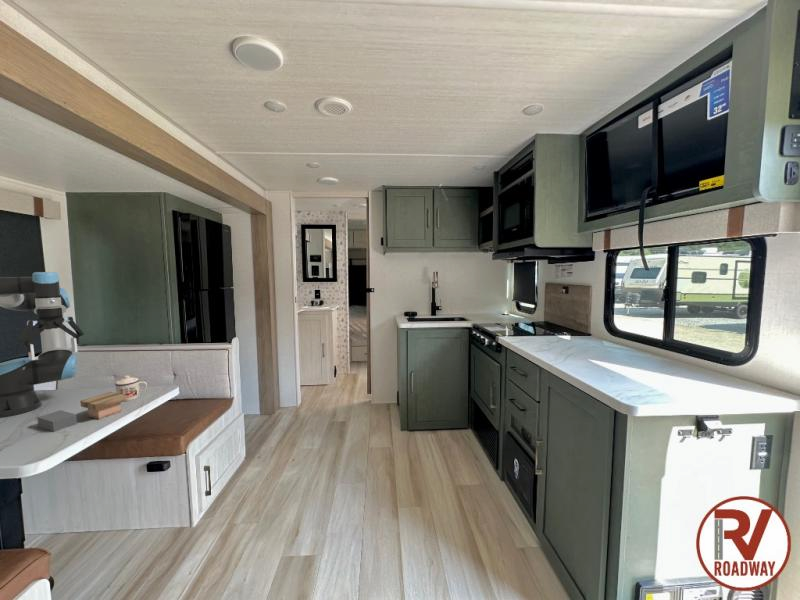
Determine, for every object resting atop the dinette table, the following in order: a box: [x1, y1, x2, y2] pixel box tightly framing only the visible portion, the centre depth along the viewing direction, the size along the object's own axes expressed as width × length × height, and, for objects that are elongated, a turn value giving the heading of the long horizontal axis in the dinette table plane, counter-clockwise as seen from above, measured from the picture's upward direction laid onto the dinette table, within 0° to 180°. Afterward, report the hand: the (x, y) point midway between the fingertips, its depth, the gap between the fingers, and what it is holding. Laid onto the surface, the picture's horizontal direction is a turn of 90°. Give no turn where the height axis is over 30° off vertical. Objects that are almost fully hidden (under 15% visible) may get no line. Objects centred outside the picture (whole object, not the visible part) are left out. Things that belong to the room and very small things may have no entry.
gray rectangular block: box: [37, 409, 78, 432], centre depth 130 cm, size 12×7×4 cm, turn 69°
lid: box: [80, 391, 126, 410], centre depth 140 cm, size 11×11×2 cm
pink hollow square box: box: [87, 402, 122, 420], centre depth 140 cm, size 8×8×5 cm
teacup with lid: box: [114, 374, 148, 403], centre depth 158 cm, size 12×9×12 cm
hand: (54, 355), depth 139 cm, fingers open, 13 cm apart
